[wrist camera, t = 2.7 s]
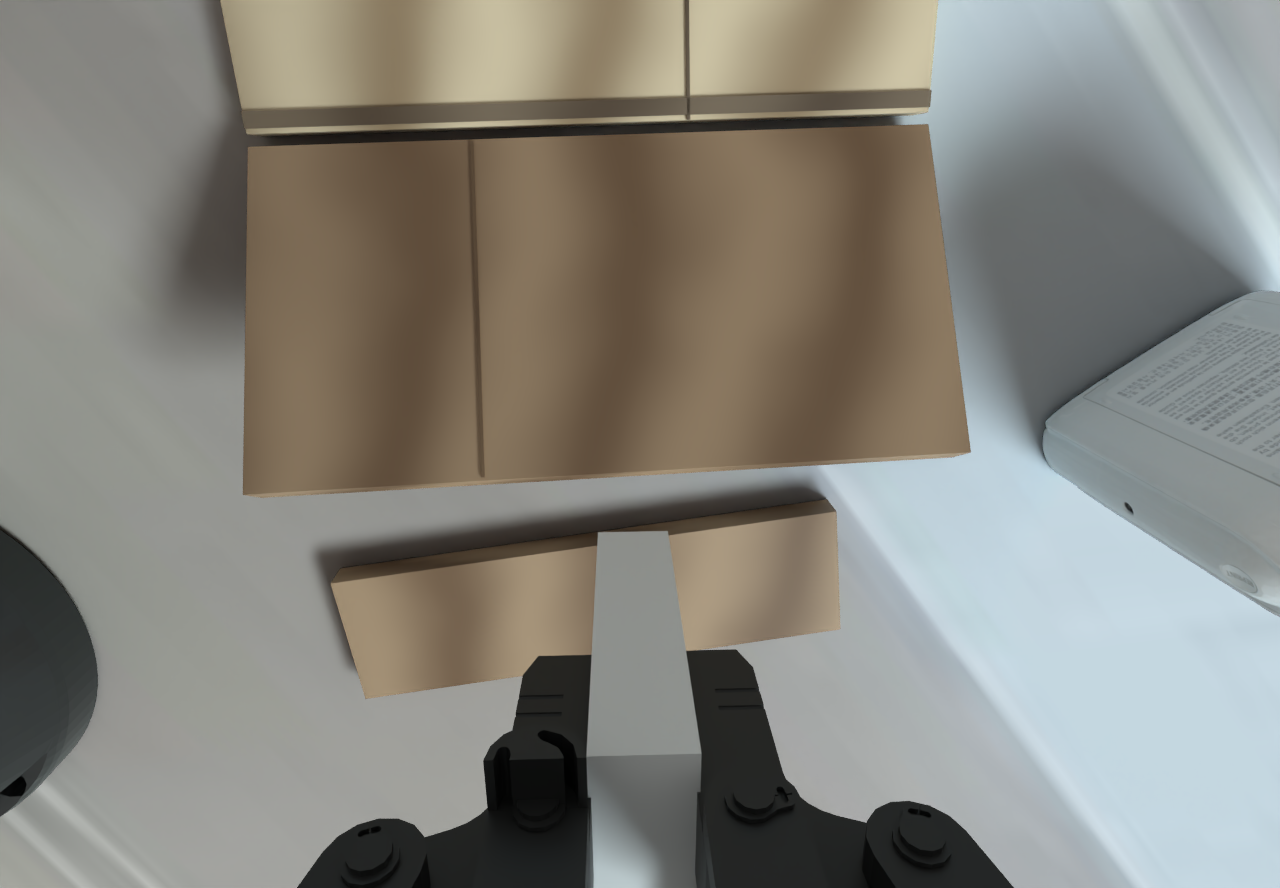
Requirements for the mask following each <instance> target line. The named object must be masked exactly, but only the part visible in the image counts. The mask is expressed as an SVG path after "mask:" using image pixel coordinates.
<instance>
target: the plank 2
mask: <svg viewBox="0 0 1280 888" xmlns="http://www.w3.org/2000/svg"><path fill="white" fill-rule="evenodd" d="M641 531H668V535H669V542H670V549H671V555H672V562H673V568H674V575H675V582H676V588H677V595H678V601H679V608H680V615H681V621H682V628H683V634H684V641H685V648H686V651H694V650H702V649H709V648H716V647H723V646H729V645H736V644H743V643H750V642H757V641H763V640H770V639H777V638H784V637H791V636H797V635H804V634H811V633H818V632H825V631H832V630H838V629H840V605H839V575H838V545H837V515H836V510H835V509H834V508H833V506H832V505H831V504H830V503H829V501H828V500H827V499H825V500H818V501H811V502H804V503H797V504H790V505H783V506H776V507H769V508H762V509H755V510H748V511H741V512H734V513H727V514H720V515H713V516H706V517H699V518H692V519H685V520H678V521H671V522H664V523H657V524H649V525H642V526H635V527H628V528H621V529H614V530H607V531H600V532H641ZM597 542H598V532H593V533H586V534H579V535H572V536H565V537H558V538H551V539H544V540H537V541H530V542H523V543H516V544H509V545H502V546H495V547H488V548H481V549H474V550H466V551H459V552H452V553H445V554H438V555H431V556H424V557H417V558H410V559H403V560H396V561H389V562H382V563H375V564H368V565H361V566H354V567H347V568H340V570H339V571H338V573H337V574H336V576H335V577H334V579H333V581H332V582H331V587H332V590H333V593H334V597H335V600H336V603H337V606H338V610H339V613H340V616H341V620H342V623H343V626H344V629H345V633H346V636H347V639H348V643H349V646H350V649H351V652H352V656H353V659H354V662H355V665H356V669H357V672H358V675H359V679H360V682H361V685H362V688H363V692H364V695H365V698H366V699H368V698H375V697H382V696H389V695H395V694H402V693H409V692H416V691H423V690H429V689H436V688H443V687H450V686H457V685H463V684H470V683H477V682H484V681H491V680H498V679H504V678H511V677H518V676H523V674H524V673H525V672H526V670H527V669H528V668H529V667H530V666H531V664H532V663H533V662H534V661H535V660H536V658H537V657H538V656H559V655H592V638H593V619H594V600H595V580H596V561H597Z"/></svg>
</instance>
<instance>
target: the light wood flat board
mask: <svg viewBox="0 0 1280 888" xmlns="http://www.w3.org/2000/svg"><path fill="white" fill-rule="evenodd" d="M220 2H221V7H222V12H223V17H224V22H225V28H226V33H227V38H228V43H229V48H230V53H231V58H232V63H233V68H234V73H235V78H236V83H237V88H238V93H239V98H240V103H241V108H242V111H241V115H242V120H243V125H244V129H246V133H247V134H250V135H257V136H288V135H319V134H350V133H381V132H412V131H443V130H474V129H505V128H536V127H567V126H598V125H629V124H660V123H691V122H722V121H753V120H784V119H815V118H846V117H877V116H908V115H917V114H922V113H927V112H928V108H929V107H930V101H931V90H930V86H931V75H932V64H933V53H934V41H935V30H936V19H937V8H938V0H220Z"/></svg>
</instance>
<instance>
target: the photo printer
mask: <svg viewBox="0 0 1280 888" xmlns="http://www.w3.org/2000/svg"><path fill="white" fill-rule="evenodd" d="M1045 425H1046V427H1047V428H1046V429H1045V430H1044V433H1043V452H1044V455H1045V458H1046V460H1047V462H1048V464H1049V465H1050V467H1051V468H1052V469H1053V470H1054V471H1055V472H1056V473H1058V474H1059V475H1061V476H1062V477H1064V478H1065V479H1067V480H1068V481H1070V482H1071V483H1073V484H1074V485H1076V486H1077V487H1078V488H1079V489H1080V490H1082V491H1083V492H1084V493H1086V494H1087V495H1088V496H1090V497H1091V498H1093V499H1094V500H1096V501H1097V502H1099V503H1101V504H1102V505H1103V506H1105V507H1106V508H1108V509H1110V510H1111V511H1113V512H1114V513H1116V514H1117V515H1119V516H1120V517H1122V518H1124V519H1125V520H1127V521H1128V522H1130V523H1131V524H1133V525H1135V526H1136V527H1138V528H1139V529H1141V530H1142V531H1144V532H1145V533H1147V534H1149V535H1150V536H1152V537H1153V538H1155V539H1156V540H1158V541H1159V542H1161V543H1163V544H1164V545H1166V546H1167V547H1169V548H1170V549H1172V550H1173V551H1175V552H1176V553H1178V554H1180V555H1181V556H1183V557H1184V558H1186V559H1188V560H1189V561H1191V562H1192V563H1194V564H1195V565H1197V566H1199V567H1200V568H1202V569H1203V570H1205V571H1206V572H1208V573H1209V574H1211V575H1212V576H1214V577H1216V578H1217V579H1219V580H1220V581H1222V582H1223V583H1225V584H1227V585H1228V586H1230V587H1231V588H1233V589H1234V590H1236V591H1237V592H1239V593H1241V594H1242V595H1244V596H1246V597H1247V598H1249V599H1250V600H1252V601H1254V602H1255V603H1257V604H1258V605H1260V606H1261V607H1263V608H1264V609H1266V610H1268V611H1269V612H1271V613H1273V614H1275V615H1277V616H1279V617H1280V292H1275V291H1256V292H1252V293H1249V294H1246V295H1244V296H1242V297H1240V298H1237V299H1235V300H1233V301H1231V302H1229V303H1227V304H1225V305H1223V306H1221V307H1219V308H1218V309H1216V310H1214V311H1212V312H1210V313H1209V314H1207V315H1206V316H1204V317H1202V318H1201V319H1199V320H1198V321H1196V322H1194V323H1192V324H1190V325H1189V326H1187V327H1186V328H1184V329H1183V330H1181V331H1179V332H1178V333H1176V334H1174V335H1173V336H1171V337H1169V338H1168V339H1166V340H1164V341H1163V342H1161V343H1160V344H1158V345H1156V346H1155V347H1153V348H1152V349H1150V350H1148V351H1147V352H1145V353H1144V354H1142V355H1140V356H1139V357H1137V358H1136V359H1134V360H1133V361H1131V362H1129V363H1128V364H1126V365H1125V366H1123V367H1122V368H1120V369H1118V370H1117V371H1115V372H1113V373H1112V374H1110V375H1109V376H1107V377H1106V378H1104V379H1102V380H1101V381H1099V382H1097V383H1096V384H1094V385H1093V386H1091V387H1090V388H1089V389H1087V390H1086V391H1084V392H1083V393H1081V394H1080V395H1078V396H1077V397H1075V398H1074V399H1072V400H1071V401H1069V402H1068V403H1067V404H1065V405H1064V406H1063V407H1061V408H1060V409H1059V410H1058V411H1056V412H1055V413H1054V414H1053V415H1052V416H1051V417H1050V418H1049V419H1048V420H1047V421H1046V423H1045Z"/></svg>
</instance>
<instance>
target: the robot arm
mask: <svg viewBox="0 0 1280 888" xmlns="http://www.w3.org/2000/svg"><path fill="white" fill-rule="evenodd" d="M97 687H98V673H97V664H96V658H95V653H94V649H93V645H92V642H91V639H90V636H89V633H88V631H87V628H86V626H85V624H84V622H83V620H82V618H81V615H80V614H79V612H78V610H77V609H76V607H75V605H74V603H73V602H72V600H71V599H70V597H69V596H68V594H67V593H66V591H65V590H64V589H63V588H62V586H61V585H60V584H59V582H58V581H57V580H56V579H55V578H54V577H53V575H52V574H51V573H50V572H49V571H48V570H47V569H46V568H45V567H44V566H43V565H42V564H41V563H40V562H39V561H38V560H37V559H36V558H35V557H34V556H33V555H32V554H31V553H29V552H28V551H27V550H26V549H25V548H24V547H22V546H21V545H20V544H19V543H17V542H16V541H15V540H13V539H12V538H11V537H9V536H8V535H7V534H5V533H4V532H2V531H1V530H0V817H1V816H2V815H4V814H5V813H7V812H8V811H10V810H11V809H13V808H14V807H16V806H17V805H18V804H19V803H20V802H22V801H23V800H24V799H25V798H27V797H28V796H29V795H30V794H31V793H33V792H34V791H35V790H36V789H37V788H38V787H39V786H40V785H41V784H42V782H43V781H44V780H45V779H46V778H47V777H48V776H49V775H50V774H51V773H52V771H53V770H54V769H55V768H56V767H57V766H58V765H59V764H60V763H61V762H62V760H63V759H64V758H65V757H66V756H67V755H68V754H69V753H70V752H71V750H72V749H73V748H74V747H75V746H76V744H77V743H78V741H79V740H80V739H81V737H82V736H83V734H84V732H85V730H86V728H87V726H88V724H89V722H90V719H91V717H92V714H93V710H94V707H95V702H96V697H97ZM483 762H484V773H485V784H486V795H487V805H488V808H487V809H486V810H485V811H484V812H483V813H482V814H481V815H479V816H478V817H476V818H474V819H473V820H471V821H470V822H468V823H466V824H464V825H461V826H459V827H456V828H454V829H451V830H448V831H444V832H441V833H438V834H435V835H431V836H428V837H425V838H424V836H423V835H422V834H421V832H420V831H419V830H418V829H417V828H416V827H415V825H413V824H410V823H408V822H405V821H403V820H400V819H376V820H372V821H369V822H365V823H362V824H359V825H356V826H355V827H353V828H351V829H350V830H348V831H346V832H345V833H343V834H341V835H340V836H338V837H337V838H336V839H335V840H334V841H333V842H332V843H331V844H330V845H329V846H328V847H327V848H326V849H325V850H324V851H323V853H322V854H321V855H320V857H319V858H318V859H317V861H316V862H315V864H314V865H313V866H312V868H311V869H310V871H309V872H308V873H307V875H306V876H305V877H304V879H303V880H302V882H301V883H300V884H299V886H298V887H297V888H1014V887H1013V886H1012V885H1011V884H1010V883H1009V881H1008V880H1007V879H1006V878H1005V877H1004V875H1003V874H1002V873H1001V872H1000V871H999V870H998V868H997V867H996V866H995V865H994V864H993V862H992V861H991V860H990V859H989V858H988V856H987V855H986V854H985V853H984V852H983V850H982V849H981V848H980V847H979V846H978V845H977V843H976V842H975V841H974V840H973V839H972V837H971V836H970V835H969V834H968V833H967V831H966V830H965V829H963V828H962V827H961V826H960V825H959V824H958V823H957V822H956V821H954V820H953V819H952V818H951V817H950V816H948V815H946V814H945V813H943V812H941V811H939V810H937V809H935V808H933V807H931V806H928V805H924V804H920V803H915V802H911V801H902V802H890V803H888V804H885V805H883V806H881V807H879V808H877V809H875V811H874V812H873V814H872V815H871V816H870V818H869V819H868V821H867V823H865V822H861V821H856V820H852V819H848V818H844V817H840V816H836V815H833V814H830V813H827V812H824V811H821V810H819V809H818V808H816V807H814V806H812V805H810V804H808V803H807V802H806V801H804V800H803V799H802V798H801V797H800V796H799V794H798V792H797V790H796V789H795V787H794V786H793V785H792V784H791V783H789V782H788V781H787V780H786V778H785V776H784V774H783V771H782V768H781V764H780V761H779V757H778V754H777V750H776V747H775V743H774V740H773V736H772V733H771V729H770V726H769V722H768V719H767V715H766V712H765V709H764V707H763V701H762V698H761V694H760V692H759V687H758V684H757V680H756V677H755V673H754V670H753V667H752V666H751V665H750V664H749V663H748V662H747V661H746V660H745V658H744V657H743V656H742V655H741V654H740V653H739V652H738V651H737V650H694V651H686V648H685V641H684V634H683V628H682V621H681V615H680V608H679V601H678V595H677V588H676V582H675V575H674V568H673V562H672V555H671V549H670V542H669V535H668V531H641V532H598V542H597V561H596V580H595V600H594V619H593V638H592V655H559V656H538V657H537V658H536V660H535V661H534V662H533V663H532V664H531V666H530V667H529V668H528V669H527V670H526V672H525V673H524V674H523V678H522V684H521V689H520V694H519V700H518V705H517V710H516V717H515V720H514V726H513V731H510V732H508V733H506V734H504V735H503V736H501V737H500V738H499V739H498V740H497V741H496V742H495V743H494V744H492V745H491V746H490V748H489V750H488V752H487V754H486V756H485V758H484V760H483Z"/></svg>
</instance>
